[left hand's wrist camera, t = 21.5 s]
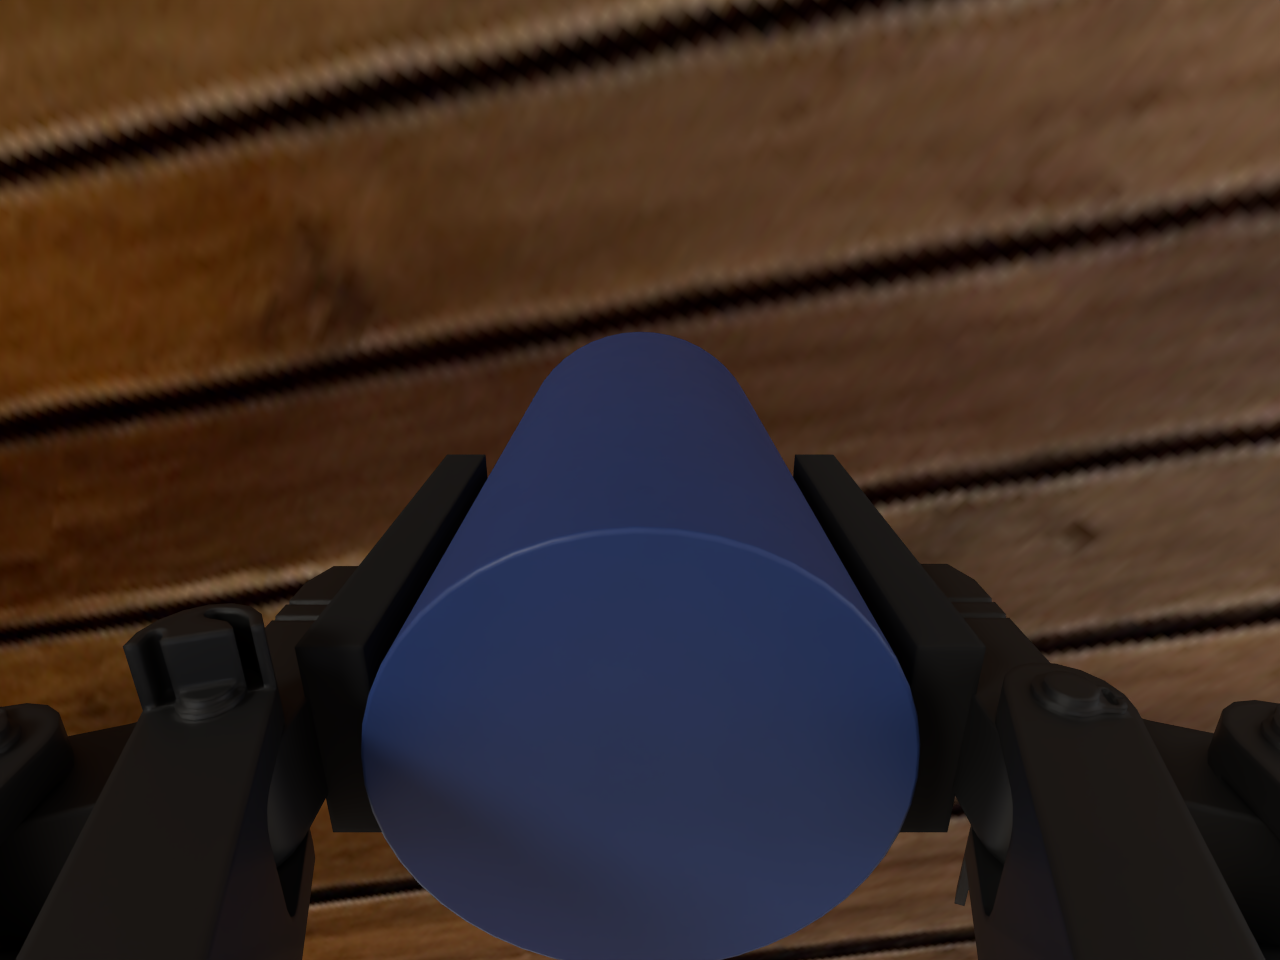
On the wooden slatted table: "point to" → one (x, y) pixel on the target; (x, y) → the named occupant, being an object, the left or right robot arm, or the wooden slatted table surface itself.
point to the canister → (640, 683)
